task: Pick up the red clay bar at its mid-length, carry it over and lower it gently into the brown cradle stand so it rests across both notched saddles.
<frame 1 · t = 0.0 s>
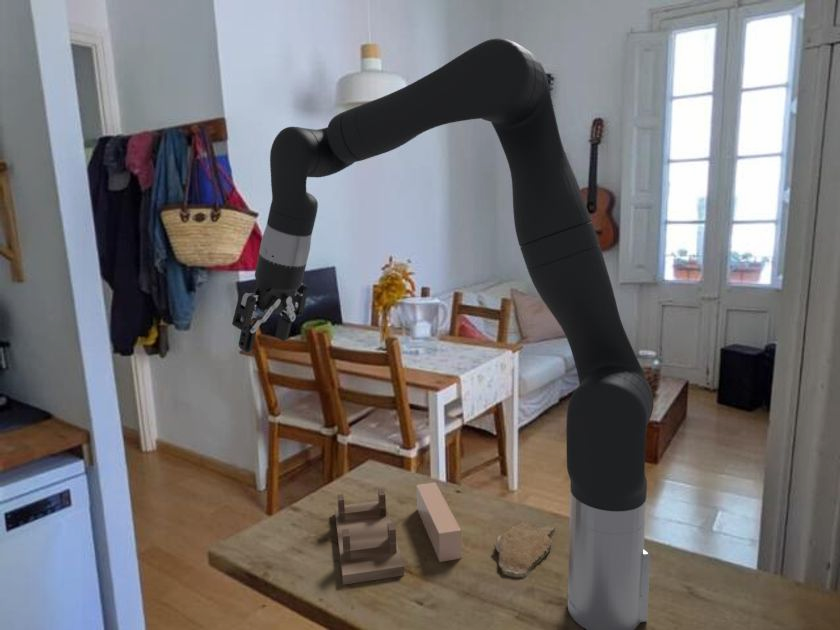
hand: (263, 344, 98), 31 cm above the table, tool tilted 20°, fingers open, 8 cm apart
pottery shard: (523, 552, 92), on the table
brown cradle stand: (366, 541, 95), on the table
clay bar: (437, 533, 98), on the table
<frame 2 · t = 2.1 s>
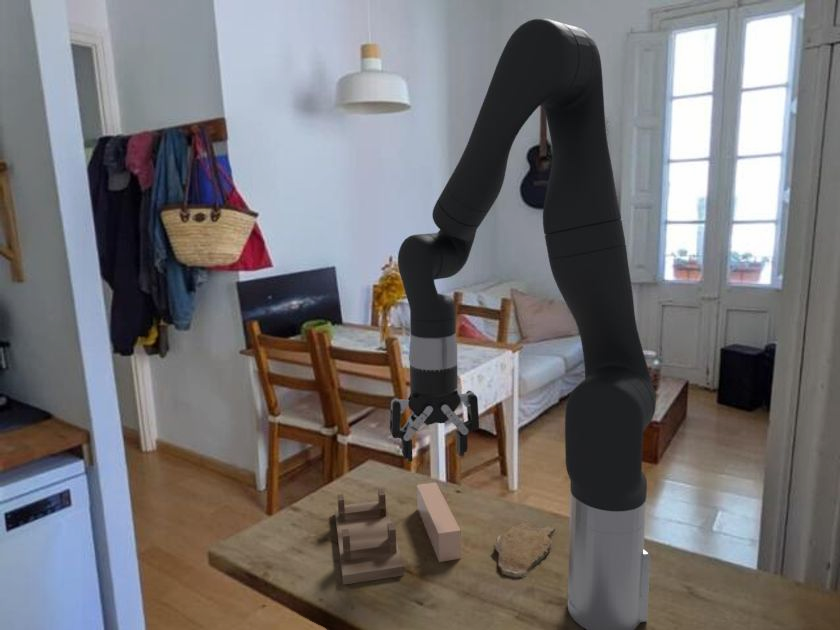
hand: (435, 456, 95), 13 cm above the table, tool pointing down, fingers open, 8 cm apart
nothing on the table moved.
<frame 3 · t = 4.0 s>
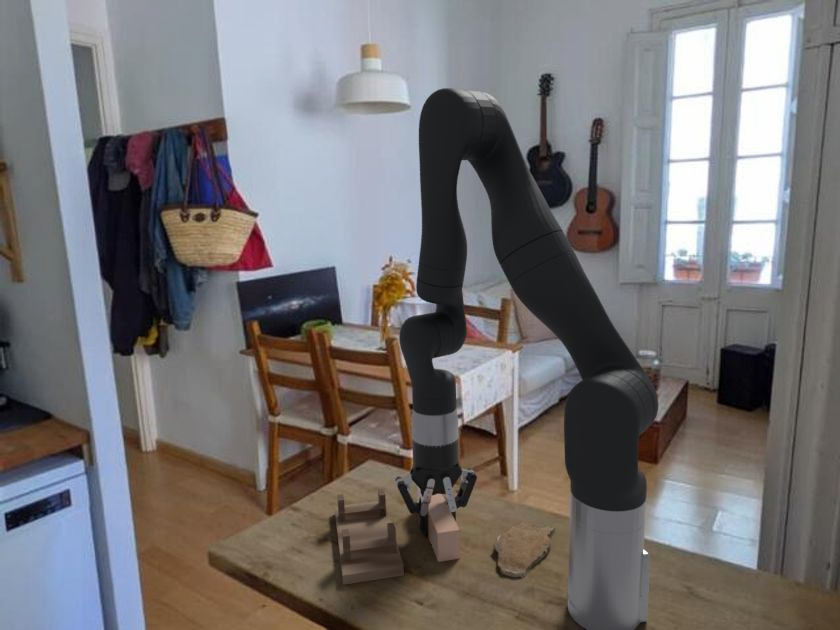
hand: (437, 530, 98), 0 cm above the table, tool pointing down, fingers closed on clay bar, 3 cm apart
clay bar: (437, 532, 98), on the table, touching gripper
everything else where it was.
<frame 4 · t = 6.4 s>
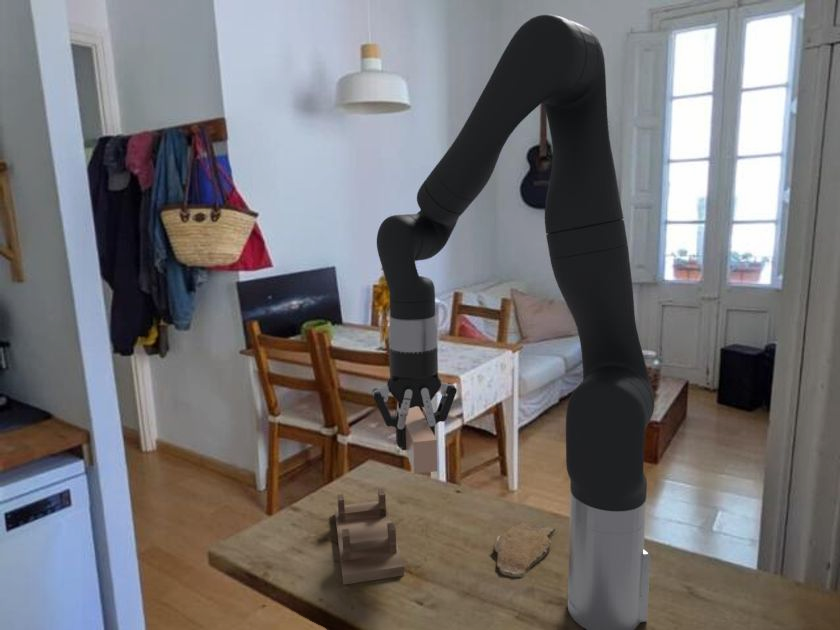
hand: (415, 446, 94), 15 cm above the table, tool pointing down, fingers closed on clay bar, 3 cm apart
clay bar: (416, 450, 94), point 15 cm above the table, touching gripper
everything else where it was.
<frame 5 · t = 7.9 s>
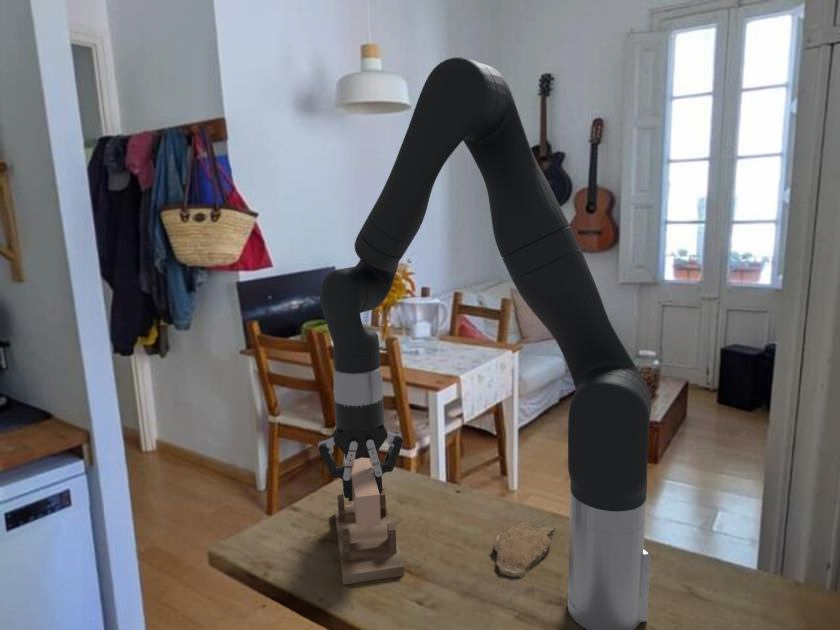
hand: (363, 496, 94), 8 cm above the table, tool pointing down, fingers closed on clay bar, 3 cm apart
clay bar: (363, 500, 94), point 7 cm above the table, touching gripper
everything else where it was.
when the fingers open (4 cm above the table, at t = 9.0 s): clay bar stays where it is, resting on brown cradle stand.
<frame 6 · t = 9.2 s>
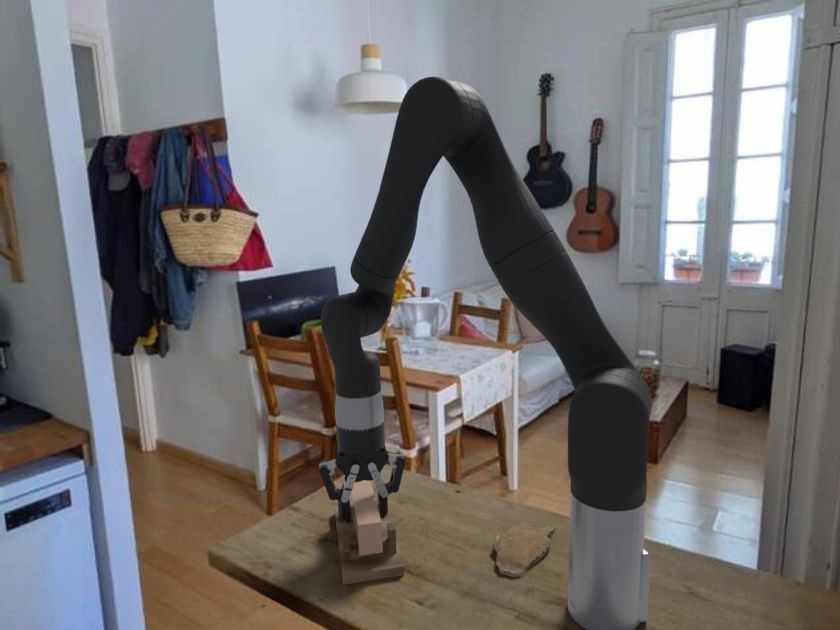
hand: (365, 517, 94), 4 cm above the table, tool pointing down, fingers open, 4 cm apart
clay bar: (365, 525, 95), point 3 cm above the table, touching brown cradle stand
everything else where it was.
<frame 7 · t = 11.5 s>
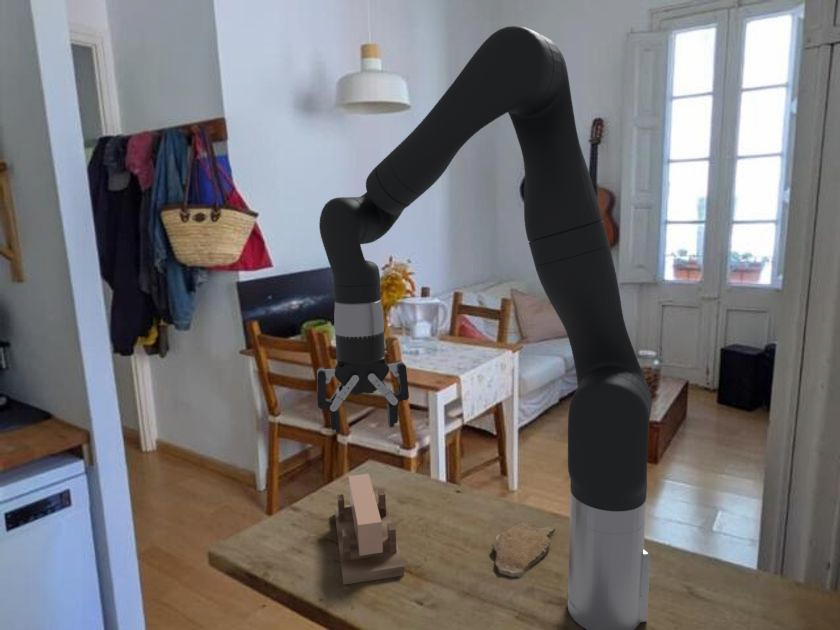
hand: (364, 428, 93), 19 cm above the table, tool pointing down, fingers open, 8 cm apart
nothing on the table moved.
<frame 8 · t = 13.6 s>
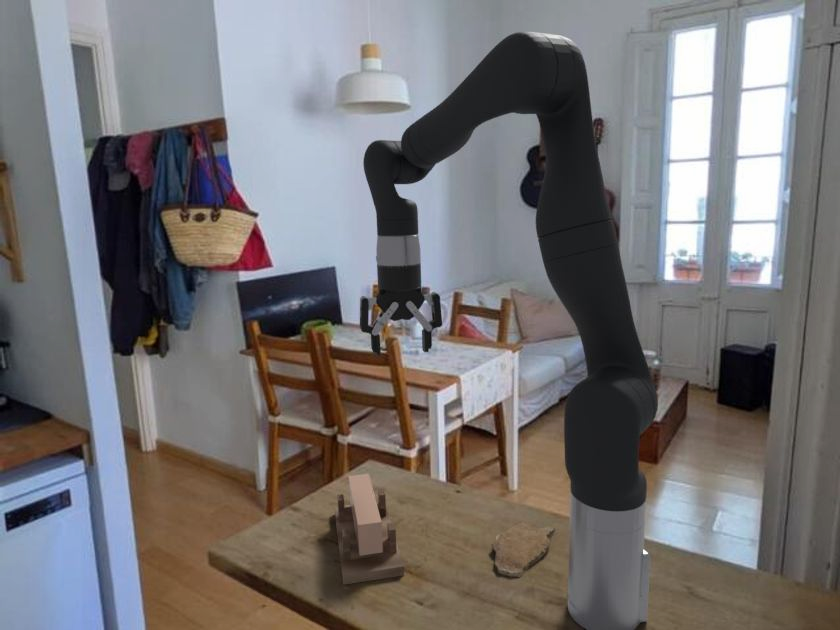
hand: (402, 353, 103), 28 cm above the table, tool pointing down, fingers open, 8 cm apart
nothing on the table moved.
at the end: clay bar 0.1 cm off-centre on the brown cradle stand, point 3.0 cm above the brown cradle stand's base; clay bar tilted 0°; the gripper is holding nothing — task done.
